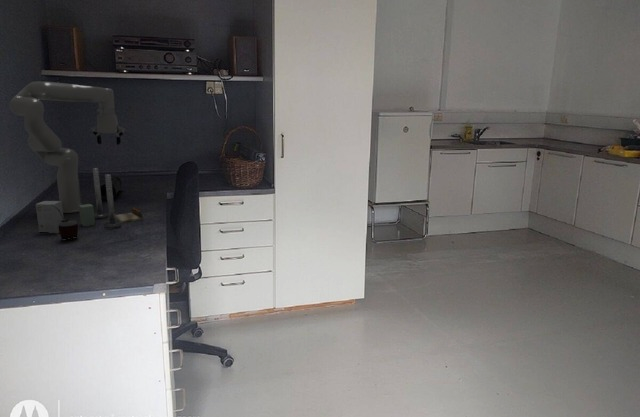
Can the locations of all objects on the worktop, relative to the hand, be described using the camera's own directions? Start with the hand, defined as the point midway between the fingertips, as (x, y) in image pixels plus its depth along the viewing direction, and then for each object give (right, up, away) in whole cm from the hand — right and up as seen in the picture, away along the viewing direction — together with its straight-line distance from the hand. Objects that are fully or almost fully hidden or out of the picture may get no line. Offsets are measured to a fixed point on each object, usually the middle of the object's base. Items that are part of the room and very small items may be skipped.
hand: (109, 144), depth 261 cm
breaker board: (+22, -40, -29) cm, 54 cm away
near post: (+20, -43, -43) cm, 64 cm away
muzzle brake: (-6, -28, +16) cm, 33 cm away
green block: (+8, -42, -40) cm, 59 cm away
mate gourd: (+10, -48, -61) cm, 78 cm away
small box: (-3, -45, -51) cm, 68 cm away
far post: (+8, -39, -28) cm, 49 cm away
